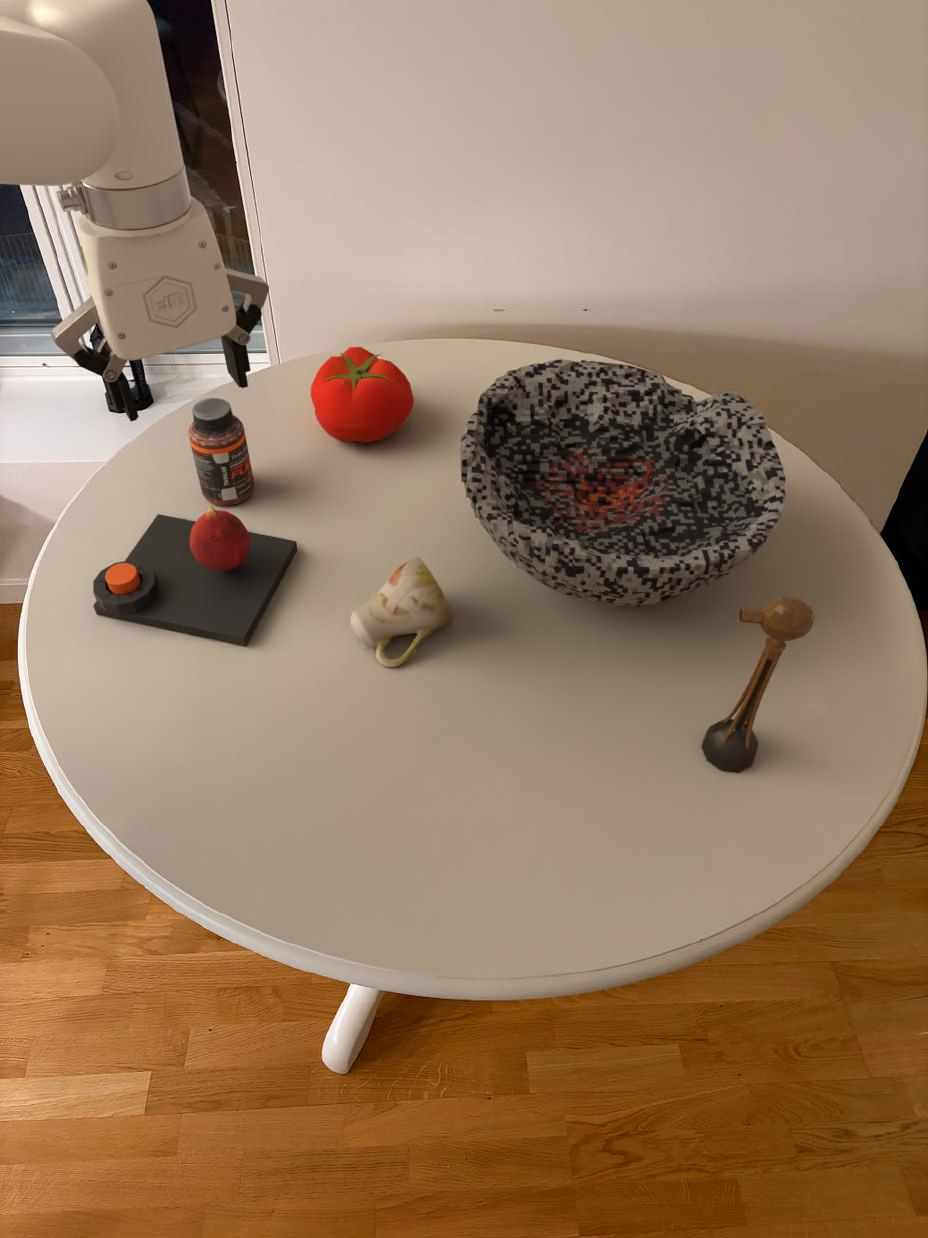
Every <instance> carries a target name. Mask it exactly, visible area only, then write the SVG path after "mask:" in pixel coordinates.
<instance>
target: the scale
mask: <svg viewBox="0 0 928 1238" xmlns="http://www.w3.org/2000/svg"><path fill="white" fill-rule="evenodd" d="M196 521H197V520H190V519H187V518H186V519H185V518H181V517H176V516H170V515H165V514H160V513H158V514H157V515H156V516H155V517H154V519H153V520H152V521H151V523H150V525H149V526H148V527H147V529H146V530H145V532H144V533H143V535H142V536H141V537H140V539H139V540H138V542H137V543H136V544H135V545H134V547H133V548H132V550H131V551H130V553H129V554H128V556H127V557H126V558H125V560H124V561H119V562H118V561H117V562H114V563H112V564H110V565H108V566H107V567H105V568H103V569H101V570H100V572H98V574H97V575H96V577H95V578H94V579H93V581H92V588H93V589H92V592H93V595H94V598H95V600H96V601H95V602H94V604H93V609H94V611H95V614H96V615H97V616H100V617H105V618H110V619H115V620H119V621H123V622H129V623H133V624H136V625H137V624H138V625H141V626H142V625H143V626H147V627H151V628H157V629H161V630H166V631H170V632H174V633H178V634H184V635H187V636H188V635H190V636H193V637H198V638H203V639H207V640H212V641H217V642H221V643H225V644H230V645H235V646H239V647H245V648H247V646H248V644H249V643H250V641H251V639H252V637H253V636H254V634H255V631H256V630H257V628H258V626H259V624H260V622H261V621H262V618H263V616H264V615H265V613H266V611H267V610H268V607H269V605H270V603H271V602H272V600H273V598H274V596H275V594H276V592H277V590H278V589H279V586H280V584H281V582H282V581H283V579H284V577H285V575H286V573H287V572H288V569H289V567H290V566H291V564H292V562H293V560H294V558H295V556H296V555H297V553H298V551H299V550H298V544H297V541H296V540H293V539H287V538H283V537H278V536H274V535H273V536H272V535H267V534H261V533H257V532H252V531H248V533H249V536H250V551H249V553H248V555H247V557H246V558H245V559H244V561H243V562H242V563H241V564H240V565H238V566H237V567H235V568H234V569H232V570H228V571H215V570H211V569H208V568H207V567H205V566H204V565H202V564H201V563H200V562H198V561H197V560H196V558H195V557H194V555H193V553H192V551H191V548H190V535H191V529H192V527H193V525H194V524H195V523H196ZM120 563H129V564H132V565H133V566H135V568H136V569H137V572H138V575H139V578H140V585H139V587H138V588H137V589H136V590H135V591H133V592H132V593H130V594H125V595H117V594H114V593H113V592H111V590H110V589H109V586H108V584H107V581H106V578H105V575H106V572H107V571H108V569H109V568H111V567H112V566H114V565H116V564H120Z"/></svg>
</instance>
